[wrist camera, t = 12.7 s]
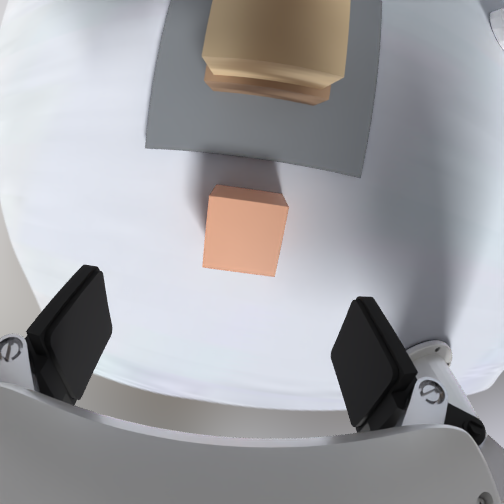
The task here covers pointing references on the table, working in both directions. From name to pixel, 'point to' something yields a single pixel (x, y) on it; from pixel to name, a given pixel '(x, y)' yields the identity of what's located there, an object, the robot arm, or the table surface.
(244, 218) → the terracotta block
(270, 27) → the oak block
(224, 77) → the walnut base block
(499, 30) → the white cup
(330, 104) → the slate board
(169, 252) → the table surface
